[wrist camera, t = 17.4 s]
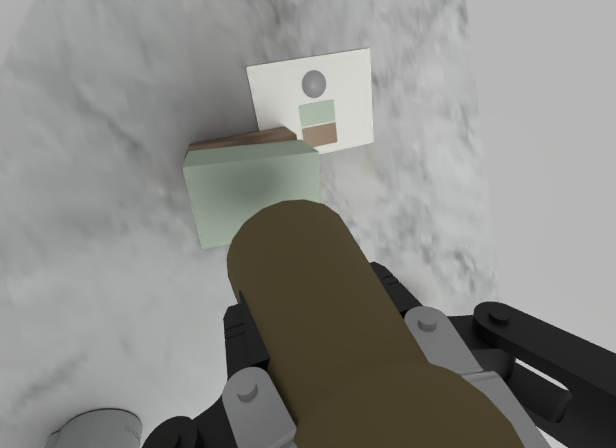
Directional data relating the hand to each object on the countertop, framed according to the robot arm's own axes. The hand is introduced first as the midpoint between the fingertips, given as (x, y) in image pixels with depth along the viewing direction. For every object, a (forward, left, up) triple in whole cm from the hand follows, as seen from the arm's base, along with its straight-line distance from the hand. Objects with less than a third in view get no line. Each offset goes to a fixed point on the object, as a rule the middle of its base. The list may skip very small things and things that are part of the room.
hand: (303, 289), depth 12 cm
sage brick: (0, 0, -15) cm, 15 cm away
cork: (0, 0, -2) cm, 2 cm away
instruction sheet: (+8, +4, -20) cm, 22 cm away
